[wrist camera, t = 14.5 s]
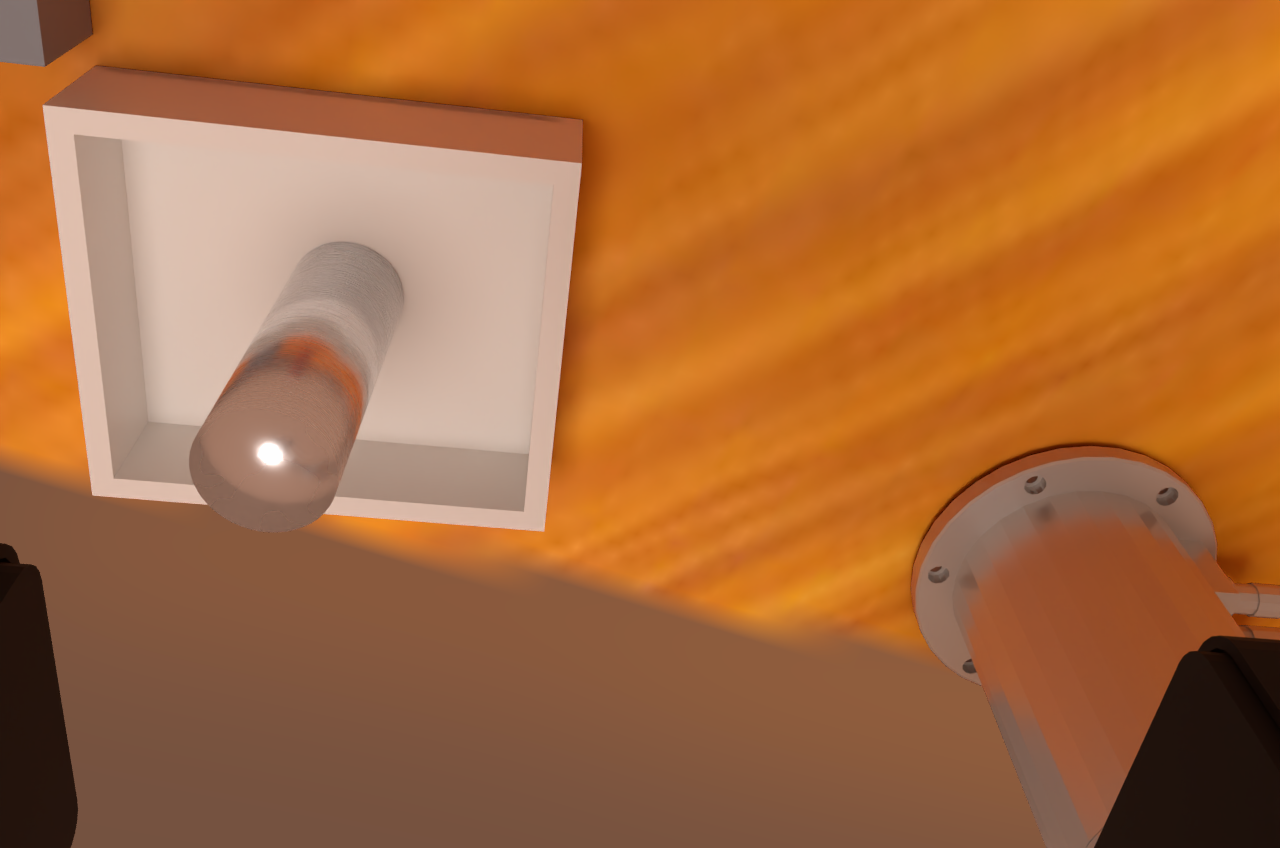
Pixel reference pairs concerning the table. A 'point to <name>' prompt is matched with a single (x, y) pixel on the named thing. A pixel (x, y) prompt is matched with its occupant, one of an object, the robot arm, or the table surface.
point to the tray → (276, 242)
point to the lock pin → (300, 392)
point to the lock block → (41, 29)
